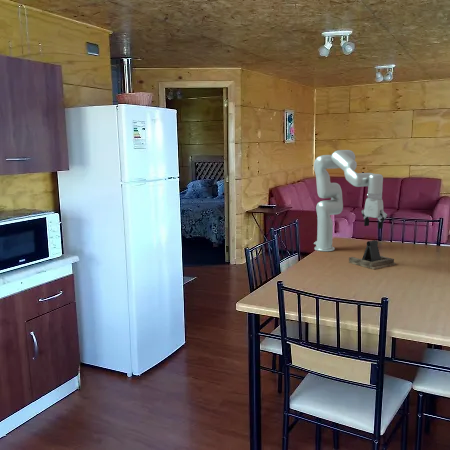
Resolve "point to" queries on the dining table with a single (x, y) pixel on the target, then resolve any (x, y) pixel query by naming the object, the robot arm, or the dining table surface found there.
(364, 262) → the board
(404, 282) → the dining table surface
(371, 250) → the phone stand
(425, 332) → the dining table surface
